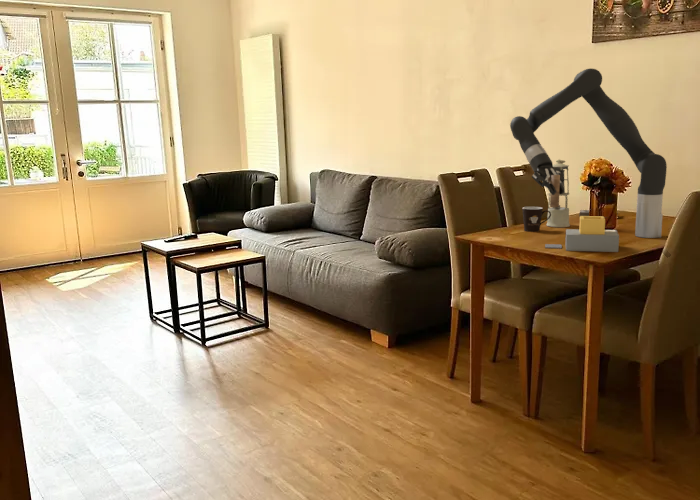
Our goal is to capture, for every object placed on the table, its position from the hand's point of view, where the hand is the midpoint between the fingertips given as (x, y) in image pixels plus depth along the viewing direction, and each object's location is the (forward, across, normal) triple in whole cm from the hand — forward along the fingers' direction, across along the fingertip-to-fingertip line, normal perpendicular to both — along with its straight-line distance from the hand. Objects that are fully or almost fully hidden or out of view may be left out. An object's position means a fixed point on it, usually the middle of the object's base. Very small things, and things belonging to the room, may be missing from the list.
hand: (558, 193), depth 238 cm
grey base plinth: (+20, +10, +10) cm, 24 cm away
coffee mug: (-9, +17, +39) cm, 43 cm away
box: (-19, +67, +50) cm, 85 cm away
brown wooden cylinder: (+2, 0, +5) cm, 6 cm away
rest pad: (+13, 0, +16) cm, 21 cm away
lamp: (-13, +35, +43) cm, 57 cm away
